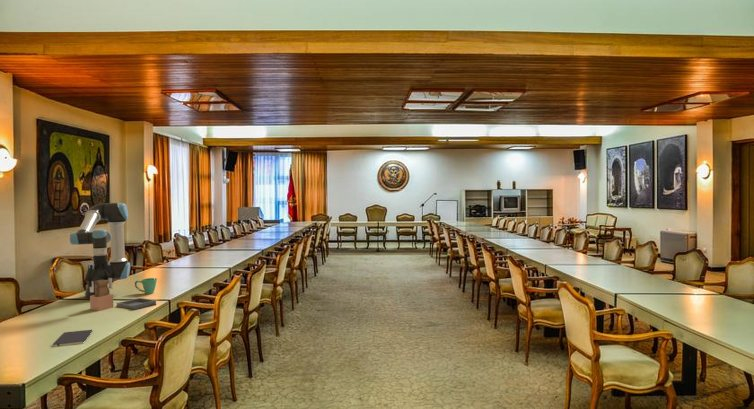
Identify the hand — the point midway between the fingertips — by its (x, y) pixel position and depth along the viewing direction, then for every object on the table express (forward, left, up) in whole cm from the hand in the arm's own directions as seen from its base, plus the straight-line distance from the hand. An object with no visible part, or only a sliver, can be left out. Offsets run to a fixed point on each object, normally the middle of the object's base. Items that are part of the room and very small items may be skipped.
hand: (101, 290), depth 300 cm
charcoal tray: (+12, +15, -12) cm, 23 cm away
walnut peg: (0, 0, -11) cm, 11 cm away
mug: (-18, +43, -12) cm, 48 cm away
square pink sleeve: (0, 0, -12) cm, 12 cm away
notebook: (+45, -42, -13) cm, 63 cm away
